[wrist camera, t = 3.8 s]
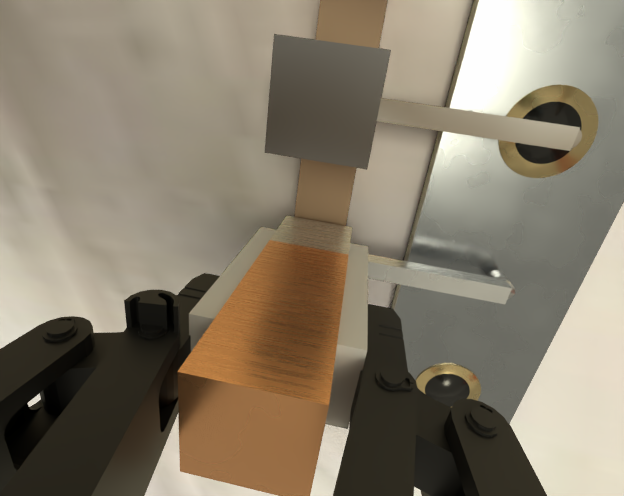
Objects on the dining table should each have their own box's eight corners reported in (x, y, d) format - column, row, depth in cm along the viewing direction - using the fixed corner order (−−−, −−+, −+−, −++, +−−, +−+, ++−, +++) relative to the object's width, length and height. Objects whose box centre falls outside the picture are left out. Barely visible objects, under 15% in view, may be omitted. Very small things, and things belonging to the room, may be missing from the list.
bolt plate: (479, -21, 14) (488, -30, 12) (702, 6, 13) (731, -2, 12) (360, 420, 23) (359, 435, 22) (484, 448, 23) (489, 465, 22)
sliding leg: (290, 210, 17) (177, 371, 7) (515, 250, 16) (755, 499, 6) (283, 266, 18) (180, 471, 8) (493, 306, 17) (661, 589, 7)
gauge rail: (333, -105, 13) (300, -294, 7) (626, -75, 12) (899, -258, 6) (269, 422, 25) (234, 535, 18) (419, 456, 24) (438, 588, 17)
